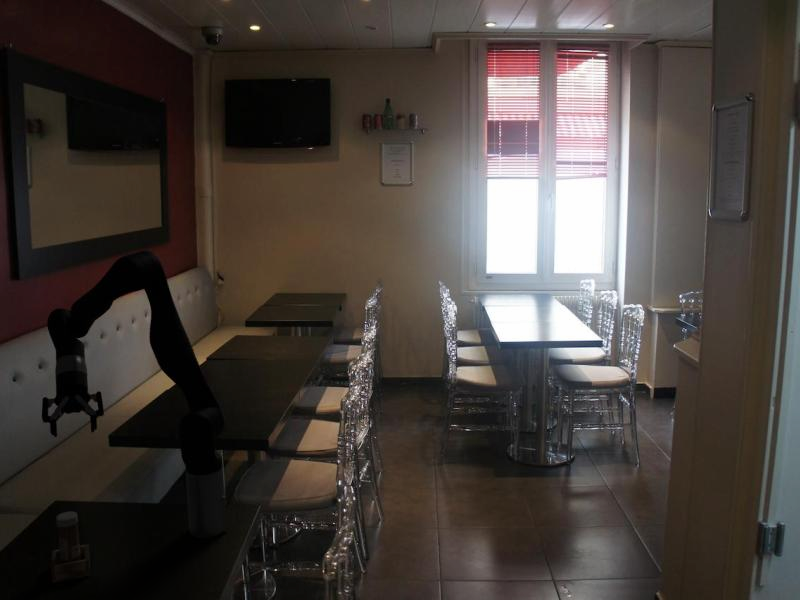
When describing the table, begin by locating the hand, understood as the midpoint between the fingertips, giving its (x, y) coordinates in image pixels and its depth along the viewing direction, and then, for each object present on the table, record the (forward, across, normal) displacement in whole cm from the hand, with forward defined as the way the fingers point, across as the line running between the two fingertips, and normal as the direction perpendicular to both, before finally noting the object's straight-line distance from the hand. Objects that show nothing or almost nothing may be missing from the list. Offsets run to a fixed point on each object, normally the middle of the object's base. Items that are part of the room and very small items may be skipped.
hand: (74, 433), depth 186 cm
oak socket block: (+31, -2, +10) cm, 32 cm away
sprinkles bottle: (+30, -2, +10) cm, 32 cm away
